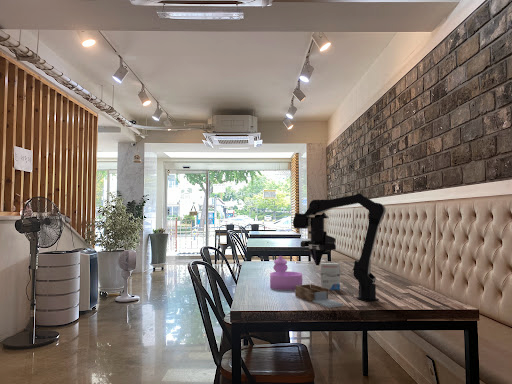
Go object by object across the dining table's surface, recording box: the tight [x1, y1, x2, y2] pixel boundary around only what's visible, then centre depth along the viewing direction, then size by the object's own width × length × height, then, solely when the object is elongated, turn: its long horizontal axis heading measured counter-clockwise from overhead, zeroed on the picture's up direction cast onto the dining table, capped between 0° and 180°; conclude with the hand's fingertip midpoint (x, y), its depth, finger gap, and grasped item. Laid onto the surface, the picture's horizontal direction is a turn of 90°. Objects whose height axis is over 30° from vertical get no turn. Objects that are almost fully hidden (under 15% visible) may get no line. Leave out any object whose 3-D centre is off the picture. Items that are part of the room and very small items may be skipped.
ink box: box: [319, 262, 341, 291], centre depth 176 cm, size 8×5×12 cm, turn 84°
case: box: [294, 283, 329, 303], centre depth 155 cm, size 12×8×4 cm, turn 25°
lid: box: [312, 292, 344, 309], centre depth 145 cm, size 10×7×4 cm, turn 25°
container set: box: [269, 255, 303, 291], centre depth 185 cm, size 25×15×13 cm, turn 8°
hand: (317, 265), depth 162 cm, fingers closed
